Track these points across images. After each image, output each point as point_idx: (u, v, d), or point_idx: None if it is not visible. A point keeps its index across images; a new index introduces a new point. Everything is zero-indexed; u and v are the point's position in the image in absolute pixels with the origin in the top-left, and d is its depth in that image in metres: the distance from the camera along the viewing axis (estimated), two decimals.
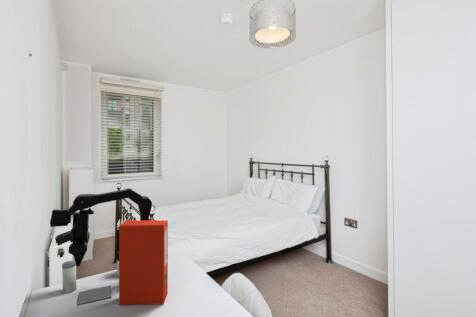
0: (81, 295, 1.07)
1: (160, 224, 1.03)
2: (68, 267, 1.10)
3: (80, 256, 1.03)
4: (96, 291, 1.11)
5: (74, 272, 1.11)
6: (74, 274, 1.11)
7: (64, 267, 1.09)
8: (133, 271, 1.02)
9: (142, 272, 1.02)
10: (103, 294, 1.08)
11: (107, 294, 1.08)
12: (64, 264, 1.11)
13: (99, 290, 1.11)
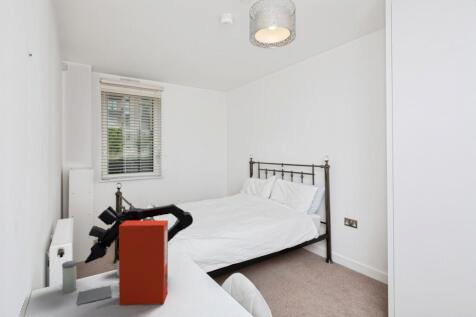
0: (81, 295, 1.07)
1: (160, 224, 1.03)
2: (69, 267, 1.10)
3: (94, 257, 1.09)
4: (96, 291, 1.11)
5: (74, 272, 1.11)
6: (74, 274, 1.11)
7: (64, 267, 1.09)
8: (133, 271, 1.02)
9: (142, 272, 1.02)
10: (103, 294, 1.08)
11: (107, 294, 1.08)
12: (64, 264, 1.11)
13: (99, 290, 1.11)
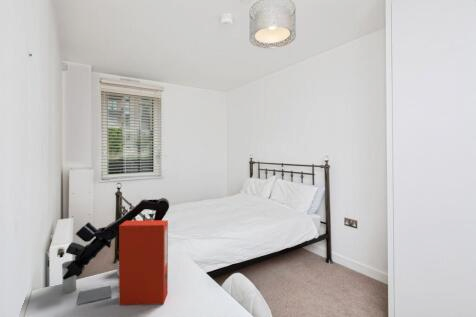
0: (81, 295, 1.07)
1: (160, 224, 1.03)
2: None
3: (72, 273, 1.09)
4: (96, 291, 1.11)
5: None
6: None
7: (64, 267, 1.09)
8: (133, 271, 1.02)
9: (142, 272, 1.02)
10: (103, 294, 1.08)
11: (107, 294, 1.08)
12: (64, 264, 1.11)
13: (99, 290, 1.11)
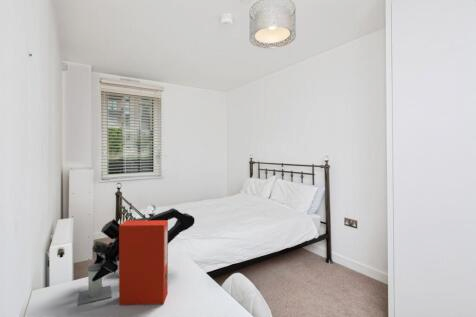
0: (81, 295, 1.07)
1: (160, 224, 1.03)
2: (97, 270, 1.07)
3: (103, 273, 1.05)
4: None
5: None
6: None
7: (92, 270, 1.06)
8: (133, 271, 1.02)
9: (142, 272, 1.02)
10: (103, 294, 1.08)
11: (107, 294, 1.08)
12: (91, 268, 1.07)
13: None
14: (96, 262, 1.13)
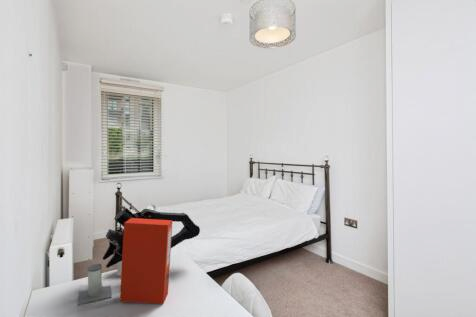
0: (81, 295, 1.07)
1: (164, 224, 1.03)
2: (97, 270, 1.07)
3: (116, 260, 1.08)
4: None
5: (101, 274, 1.09)
6: (101, 276, 1.08)
7: (92, 270, 1.06)
8: (135, 269, 1.02)
9: (143, 270, 1.02)
10: (103, 294, 1.08)
11: (107, 294, 1.08)
12: (90, 268, 1.06)
13: None
14: (109, 250, 1.16)
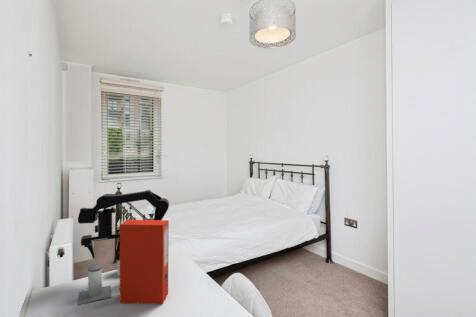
0: (81, 295, 1.07)
1: (159, 224, 1.03)
2: (97, 270, 1.06)
3: None
4: None
5: (101, 274, 1.08)
6: (101, 277, 1.08)
7: (92, 271, 1.05)
8: (133, 270, 1.03)
9: (141, 271, 1.03)
10: (103, 294, 1.08)
11: (107, 294, 1.08)
12: (90, 268, 1.06)
13: None
14: None
